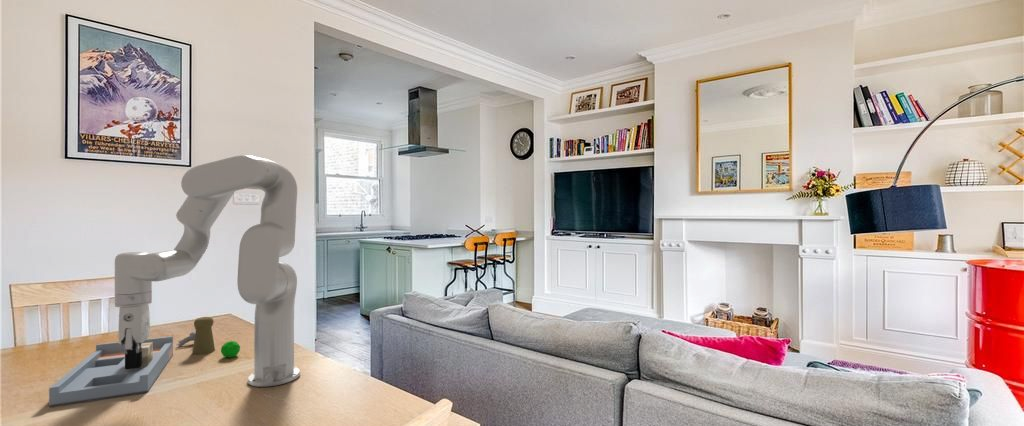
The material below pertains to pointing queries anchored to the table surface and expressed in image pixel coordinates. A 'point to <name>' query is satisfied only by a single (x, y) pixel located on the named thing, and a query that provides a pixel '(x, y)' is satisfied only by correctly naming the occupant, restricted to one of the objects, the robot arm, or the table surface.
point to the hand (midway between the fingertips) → (133, 367)
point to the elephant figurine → (187, 339)
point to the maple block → (147, 353)
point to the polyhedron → (230, 349)
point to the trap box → (110, 374)
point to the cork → (203, 336)
